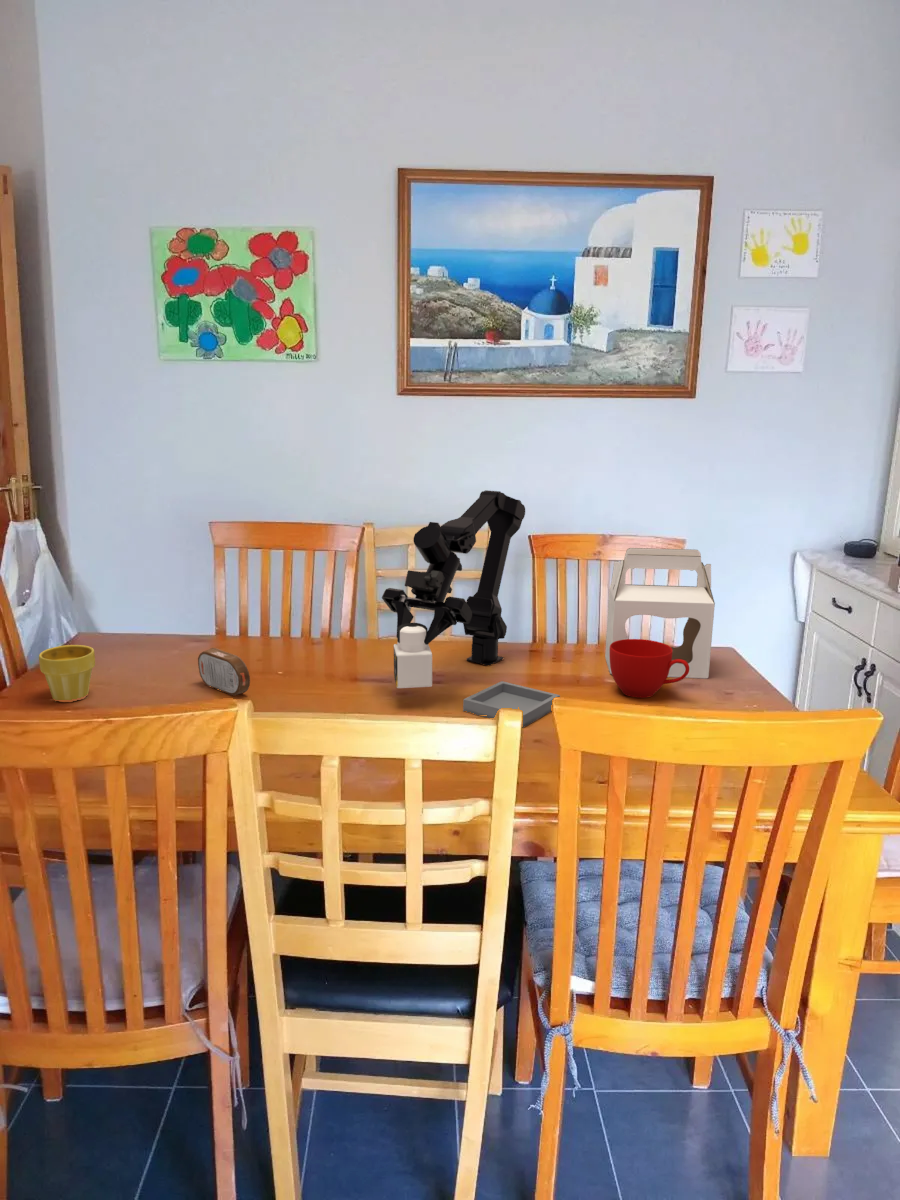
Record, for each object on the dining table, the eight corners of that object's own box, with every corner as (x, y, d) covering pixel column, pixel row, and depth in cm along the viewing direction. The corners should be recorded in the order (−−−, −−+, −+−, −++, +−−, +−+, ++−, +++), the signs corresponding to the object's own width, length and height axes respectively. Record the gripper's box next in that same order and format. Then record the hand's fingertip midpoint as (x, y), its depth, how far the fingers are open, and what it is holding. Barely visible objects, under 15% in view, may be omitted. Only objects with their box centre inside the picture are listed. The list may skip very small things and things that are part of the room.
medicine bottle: (393, 676, 182) (393, 620, 179) (428, 675, 183) (428, 619, 180) (396, 688, 175) (396, 630, 172) (432, 687, 176) (432, 629, 173)
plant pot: (95, 703, 177) (91, 657, 175) (39, 708, 174) (34, 661, 172) (100, 687, 187) (96, 642, 185) (47, 691, 184) (42, 646, 182)
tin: (252, 696, 182) (250, 658, 180) (239, 700, 180) (237, 661, 178) (209, 680, 192) (206, 643, 190) (196, 684, 190) (194, 646, 188)
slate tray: (501, 692, 187) (501, 681, 186) (559, 706, 179) (560, 695, 178) (463, 711, 176) (463, 699, 175) (523, 727, 168) (523, 715, 167)
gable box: (608, 675, 199) (615, 553, 192) (604, 657, 211) (610, 542, 205) (709, 679, 197) (720, 555, 190) (698, 661, 210) (708, 544, 203)
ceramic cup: (676, 711, 177) (680, 664, 174) (597, 695, 186) (600, 650, 183) (695, 693, 188) (699, 648, 185) (620, 678, 196) (623, 635, 194)
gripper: (386, 549, 181) (356, 613, 175) (466, 559, 172) (438, 627, 166) (406, 579, 190) (378, 641, 183) (483, 590, 181) (457, 655, 174)
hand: (411, 641), depth 176 cm, fingers closed on medicine bottle, 6 cm apart
